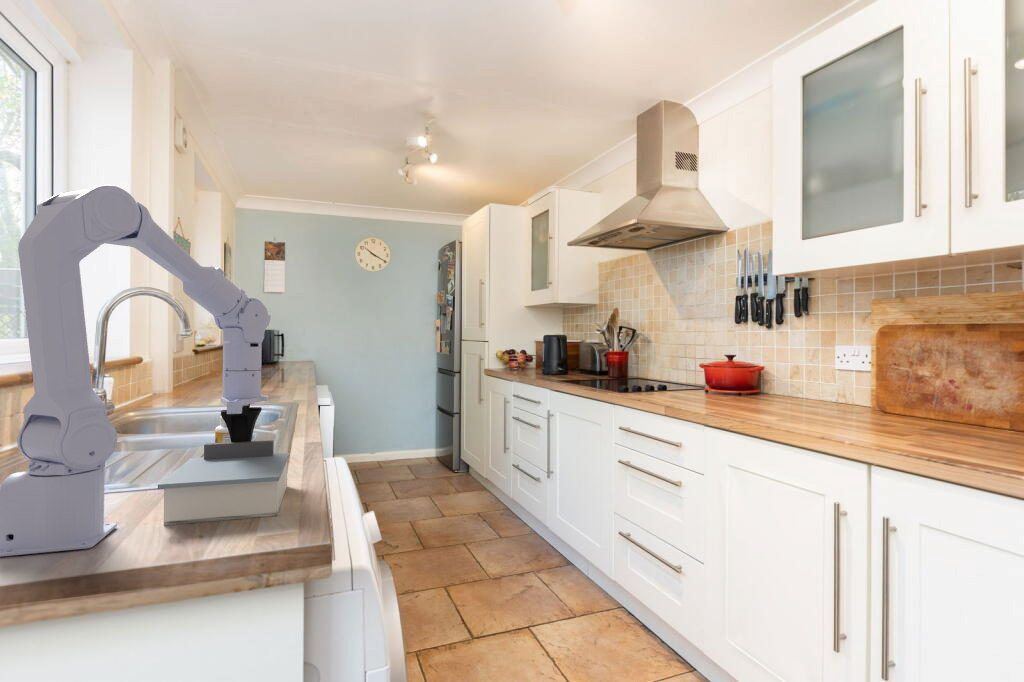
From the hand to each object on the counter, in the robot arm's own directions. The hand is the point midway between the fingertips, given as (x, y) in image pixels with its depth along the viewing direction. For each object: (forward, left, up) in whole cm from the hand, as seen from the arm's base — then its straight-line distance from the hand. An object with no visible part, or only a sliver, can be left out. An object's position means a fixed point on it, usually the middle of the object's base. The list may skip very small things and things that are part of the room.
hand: (241, 452), depth 88 cm
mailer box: (0, -7, -6) cm, 10 cm away
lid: (0, -9, -1) cm, 9 cm away
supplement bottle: (-4, +18, -7) cm, 19 cm away
